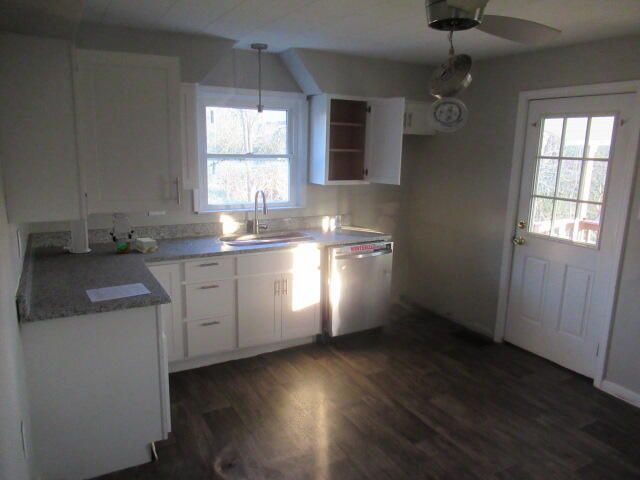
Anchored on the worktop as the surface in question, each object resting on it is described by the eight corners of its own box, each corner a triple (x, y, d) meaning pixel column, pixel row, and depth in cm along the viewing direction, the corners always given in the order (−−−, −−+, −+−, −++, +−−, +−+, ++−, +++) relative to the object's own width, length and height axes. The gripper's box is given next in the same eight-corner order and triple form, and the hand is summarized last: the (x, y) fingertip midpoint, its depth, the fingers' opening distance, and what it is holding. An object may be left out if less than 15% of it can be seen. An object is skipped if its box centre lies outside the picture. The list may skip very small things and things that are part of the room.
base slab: (143, 253, 312) (143, 248, 312) (135, 249, 322) (135, 244, 322) (158, 252, 319) (158, 246, 318) (150, 248, 329) (150, 243, 328)
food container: (110, 252, 310) (110, 237, 308) (118, 250, 315) (118, 236, 313) (123, 255, 304) (123, 240, 302) (131, 253, 309) (131, 238, 308)
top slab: (143, 247, 312) (143, 241, 312) (135, 244, 322) (135, 238, 321) (156, 246, 318) (156, 240, 318) (148, 243, 328) (148, 237, 327)
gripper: (108, 217, 297) (110, 243, 300) (136, 215, 308) (137, 240, 311) (105, 215, 302) (106, 241, 305) (132, 213, 313) (133, 239, 316)
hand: (122, 241), depth 308 cm, fingers open, 9 cm apart
